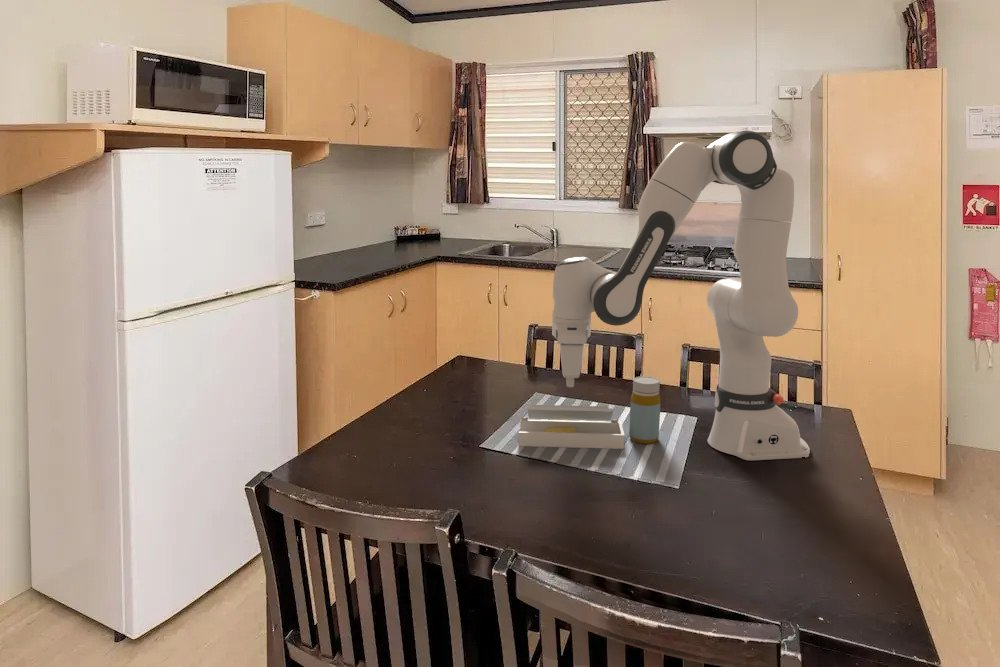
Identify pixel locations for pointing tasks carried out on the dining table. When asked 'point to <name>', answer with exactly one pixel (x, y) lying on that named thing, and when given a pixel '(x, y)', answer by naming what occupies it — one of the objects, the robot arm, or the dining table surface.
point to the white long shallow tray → (572, 434)
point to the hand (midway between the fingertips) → (570, 385)
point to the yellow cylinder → (561, 430)
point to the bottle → (645, 410)
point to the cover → (570, 412)
